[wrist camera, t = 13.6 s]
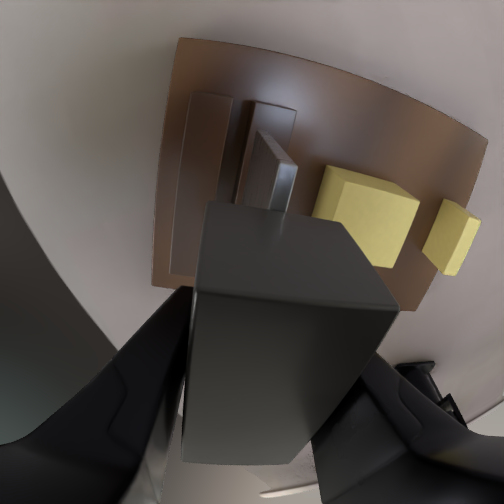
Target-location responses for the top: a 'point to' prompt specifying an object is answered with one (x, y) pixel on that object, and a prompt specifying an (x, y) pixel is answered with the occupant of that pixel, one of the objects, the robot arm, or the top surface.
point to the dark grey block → (274, 322)
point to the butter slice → (450, 237)
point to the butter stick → (367, 212)
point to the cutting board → (298, 149)
